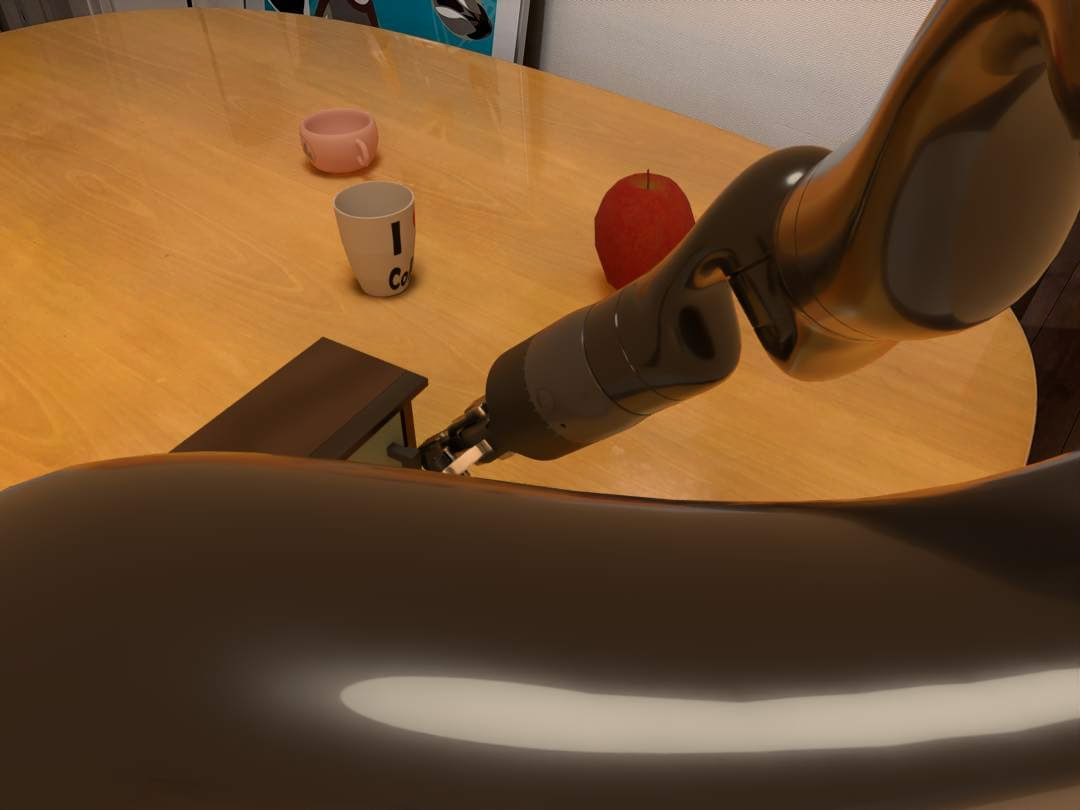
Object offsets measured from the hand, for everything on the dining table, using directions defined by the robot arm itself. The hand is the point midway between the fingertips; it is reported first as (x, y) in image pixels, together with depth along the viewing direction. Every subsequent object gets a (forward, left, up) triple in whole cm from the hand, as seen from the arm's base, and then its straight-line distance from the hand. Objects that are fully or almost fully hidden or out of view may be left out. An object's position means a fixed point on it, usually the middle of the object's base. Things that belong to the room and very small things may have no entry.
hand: (427, 457), depth 65 cm
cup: (+25, +24, -7) cm, 35 cm away
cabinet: (-6, +6, -6) cm, 11 cm away
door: (-5, 0, -5) cm, 7 cm away
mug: (+45, +46, -7) cm, 65 cm away
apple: (+38, 0, -7) cm, 38 cm away
